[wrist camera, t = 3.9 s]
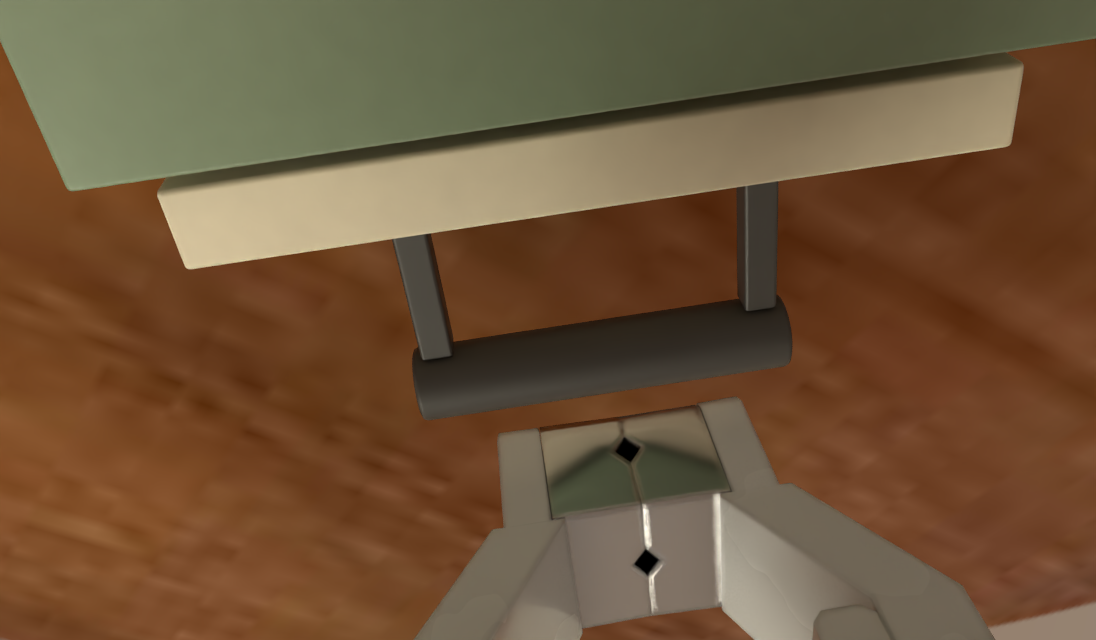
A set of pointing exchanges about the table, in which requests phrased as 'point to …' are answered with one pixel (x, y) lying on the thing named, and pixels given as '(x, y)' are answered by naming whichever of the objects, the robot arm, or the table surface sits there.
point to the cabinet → (441, 66)
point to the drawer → (587, 183)
